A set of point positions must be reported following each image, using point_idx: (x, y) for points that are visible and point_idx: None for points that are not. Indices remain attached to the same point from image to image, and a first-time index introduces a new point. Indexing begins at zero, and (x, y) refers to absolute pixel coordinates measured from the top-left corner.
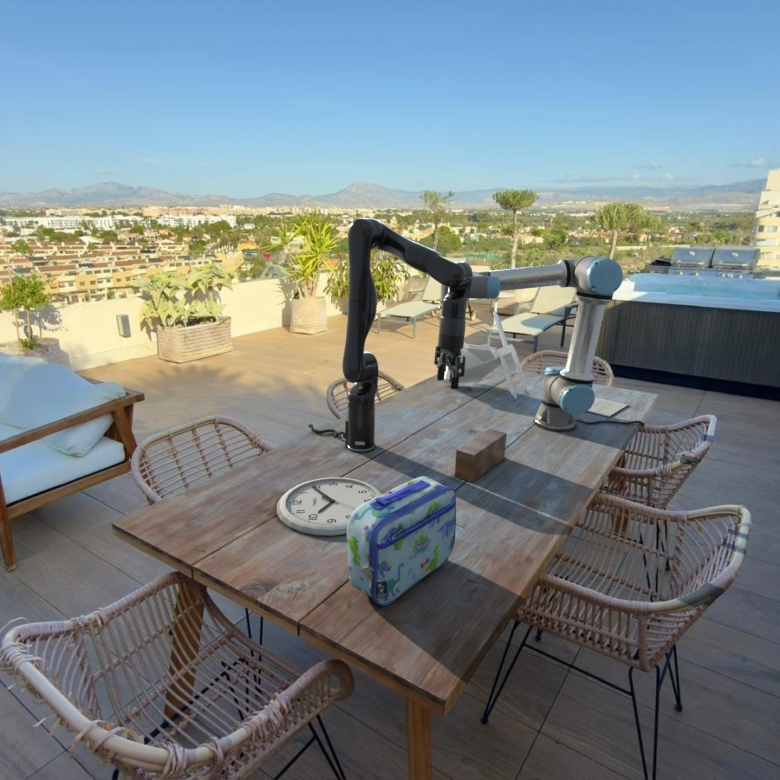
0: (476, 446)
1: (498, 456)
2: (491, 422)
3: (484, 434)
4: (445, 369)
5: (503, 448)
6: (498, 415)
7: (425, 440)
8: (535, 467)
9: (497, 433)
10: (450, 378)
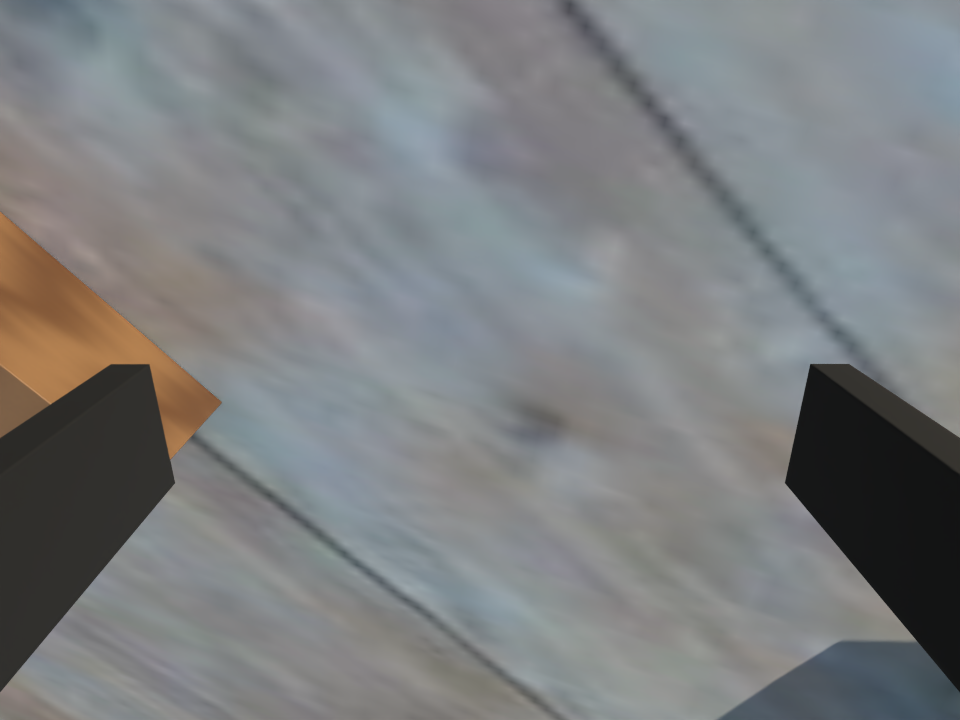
0: None
1: None
2: (648, 562)
3: (34, 413)
4: (802, 490)
5: None
6: (738, 628)
7: (442, 77)
8: None
9: None
10: (72, 391)
